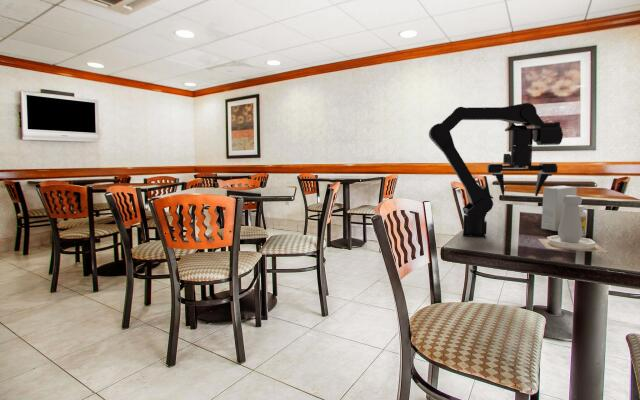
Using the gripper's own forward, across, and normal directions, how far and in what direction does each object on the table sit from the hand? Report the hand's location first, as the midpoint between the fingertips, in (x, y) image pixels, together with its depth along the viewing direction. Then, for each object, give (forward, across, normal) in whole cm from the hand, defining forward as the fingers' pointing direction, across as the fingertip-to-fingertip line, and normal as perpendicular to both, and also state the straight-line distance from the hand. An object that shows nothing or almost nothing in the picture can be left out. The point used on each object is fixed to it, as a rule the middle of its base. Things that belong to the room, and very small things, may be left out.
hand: (519, 195), depth 116 cm
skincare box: (+13, -14, -14) cm, 24 cm away
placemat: (+13, -12, +10) cm, 20 cm away
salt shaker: (+12, -12, +10) cm, 19 cm away
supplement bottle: (+13, -17, -6) cm, 22 cm away
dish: (+13, -12, +10) cm, 20 cm away
